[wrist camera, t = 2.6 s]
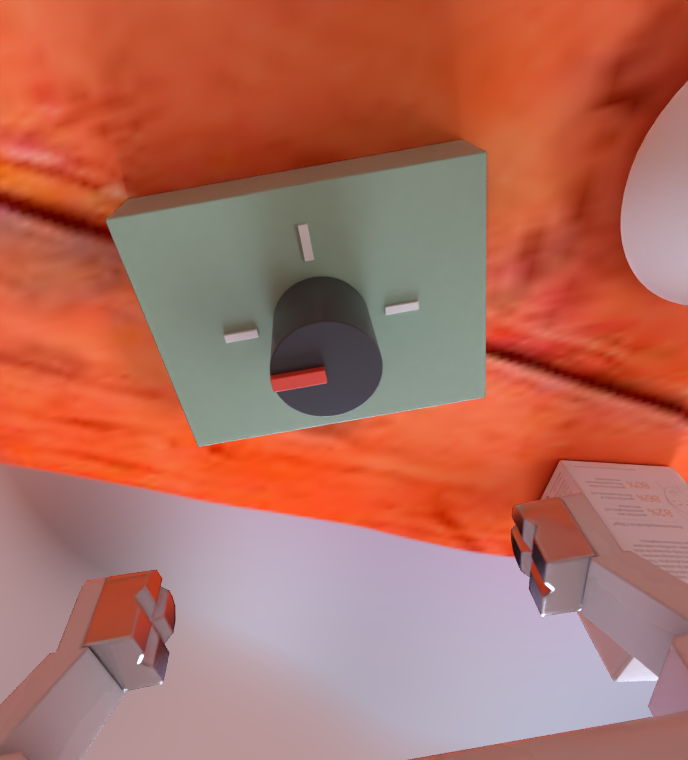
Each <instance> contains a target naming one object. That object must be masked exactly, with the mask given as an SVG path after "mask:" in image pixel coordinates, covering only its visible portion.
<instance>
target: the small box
mask: <svg viewBox="0 0 688 760" xmlns="http://www.w3.org/2000/svg"><path fill="white" fill-rule="evenodd" d="M577 493H582V494H583V495H585V496H586V498H587V499H588V501H589V502H590V504H591V505H592V506H593V508H594V509H595V511H596V512H597V514H598V515H599V517H600V518H601V520H602V521H603V523H604V524H605V525H606V527H607V528H608V530H609V531H610V533H611V534H612V536H613V537H614V539H615V540H616V542H617V543H618V544H619V546H620V547H621V549H622V550H623V552H624V551H632V552H634V553H635V554H637V555H639V556H640V557H642V558H644V559H646V560H647V561H649V562H651V563H653V564H654V565H656V566H658V567H659V568H661V569H663V570H665V571H666V572H668V573H670V574H672V575H673V576H675V577H677V578H678V579H680V580H682V581H684V582H685V583H687V584H688V484H687V482H686V481H685V480H684V479H683V478H682V477H681V476H680V475H679V474H678V473H677V472H676V471H675V469H674V468H672V467H666V466H648V465H633V464H617V463H602V462H584V461H568V460H560V461H559V463H558V465H557V467H556V469H555V471H554V473H553V475H552V477H551V479H550V481H549V483H548V485H547V487H546V489H545V491H544V493H543V495H542V497H541V499H540V500H542V499H547V498H552V497H560V496H566V495H571V494H577ZM577 613H578V615H579V617H580V619H581V621H582V623H583V625H584V627H585V629H586V631H587V633H588V634H589V636H590V638H591V640H592V642H593V644H594V646H595V648H596V650H597V651H598V653H599V655H600V657H601V659H602V661H603V663H604V665H605V667H606V669H607V670H608V672H609V674H610V676H611V678H612V679H613V681H616V682H618V681H658V677H657V676H656V675H655V674H654V673H652V672H651V671H650V670H649V669H648V668H646V667H645V666H644V665H643V664H642V663H640V662H639V661H638V660H637V659H636V658H634V657H633V656H632V655H631V654H630V653H628V652H627V651H626V650H625V649H624V648H622V647H621V646H620V645H619V644H618V643H616V642H615V641H614V640H613V639H612V638H610V637H609V636H608V635H607V634H606V633H604V632H603V631H602V630H601V629H600V628H598V627H597V626H596V625H595V624H594V623H592V622H591V621H590V620H589V619H588V618H587V617H585V616H584V615H583V614H582V613H581V611H577Z"/></svg>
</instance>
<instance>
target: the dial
mask: <svg viewBox="0 0 688 760" xmlns="http://www.w3.org/2000/svg"><path fill="white" fill-rule="evenodd" d="M382 372H383V361H382V356H381V352H380V349H379V346H378V342H377V339H376V335H375V332H374V328H373V325H372V321H371V318H370V315H369V311H368V308H367V305H366V303H365V301H364V299H363V297H362V296H361V294H360V293H359V292H358V291H357V290H356V289H355V288H354V287H352V286H351V285H350V284H348V283H346V282H344V281H342V280H339V279H336V278H332V277H312V278H308V279H305V280H302V281H300V282H298V283H296V284H294V285H293V286H291V287H290V288H289V289H288V290H287V291H285V292H284V294H283V295H282V296H281V298H280V299H279V301H278V303H277V305H276V307H275V311H274V316H273V329H272V343H271V356H270V381H271V384H272V388H273V391H274V392H276V393H277V394H278V395H279V397H280V398H281V399H282V400H283V401H284V402H285V403H286V404H287V405H289V406H290V407H292V408H293V409H295V410H297V411H299V412H301V413H304V414H307V415H312V416H318V417H331V416H338V415H342V414H345V413H348V412H350V411H353V410H355V409H356V408H358V407H360V406H361V405H363V404H364V403H365V402H366V401H367V400H368V399H369V398H370V397H371V396H372V395H373V394H374V392H375V391H376V389H377V387H378V385H379V383H380V381H381V377H382Z"/></svg>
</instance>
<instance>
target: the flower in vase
mask: <svg viewBox="0 0 688 760" xmlns="http://www.w3.org/2000/svg"><path fill="white" fill-rule="evenodd" d="M621 237H622V245H623V249H624V252H625V256H626V259H627V261H628V263H629V265H630V268H631V270H632V271H633V273H634V274H635V276H636V277H637V279H638V280H639V281H640V282H641V283H642V284H643V285H644V286H645V287H646V288H647V289H648V290H649V291H651V292H652V293H654V294H655V295H657V296H659V297H660V298H663V299H665V300H668V301H670V302H673V303H677V304H681V305H686V306H688V81H687V82H686V83H685V84H684V85H683V87H682V88H681V89H680V90H679V91H678V92H677V93H676V94H675V95H674V97H673V98H672V99H671V100H670V102H669V103H668V104H667V105H666V107H665V108H664V109H663V111H662V112H661V113H660V114H659V116H658V117H657V119H656V120H655V122H654V124H653V125H652V127H651V128H650V130H649V131H648V133H647V134H646V136H645V138H644V140H643V142H642V144H641V146H640V148H639V150H638V152H637V154H636V156H635V159H634V162H633V164H632V167H631V169H630V172H629V176H628V179H627V183H626V186H625V191H624V196H623V202H622V209H621Z"/></svg>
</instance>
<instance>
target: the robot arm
mask: <svg viewBox="0 0 688 760" xmlns="http://www.w3.org/2000/svg"><path fill="white" fill-rule="evenodd" d="M512 518H513V520H514V522H515V524H516V525H515V526H514V527H513V528H512V529H511V542H512V547H513V552H514V555H515V558H516V561H517V563H518V566H519V568H520V570H521V571H522V572H523V573H524V574H526V575H527V576H529V577H530V581H529V590H530V592H531V594H532V597H533V599H534V601H535V603H536V605H537V607H538V610H539V612H540V614H541V616H548V615H554V614H561V613H568V612H575V611H581V613H582V614H583V615H584V616H585V617H587V618H588V619H589V620H590V621H591V622H592V623H594V624H595V625H596V626H597V627H598V628H600V629H601V630H602V631H603V632H604V633H606V634H607V635H608V636H609V637H610V638H612V639H613V640H614V641H615V642H616V643H618V644H619V645H620V646H621V647H622V648H624V649H625V650H626V651H627V652H628V653H630V654H631V655H632V656H633V657H634V658H636V659H637V660H638V661H639V662H640V663H642V664H643V665H644V666H645V667H646V668H648V669H649V670H650V671H651V672H652V673H654V674H655V675H656V676H657V677H658V681H657V684H656V686H655V689H654V692H653V694H652V697H651V700H650V702H649V705H648V707H649V709H650V711H651V713H652V715H653V716H654V717H648V718H643V719H637V720H632V721H626V722H620V723H615V724H609V725H603V726H597V727H592V728H586V729H580V730H575V731H569V732H563V733H557V734H552V735H546V736H540V737H535V738H529V739H523V740H518V741H512V742H507V743H501V744H495V745H489V746H484V747H478V748H472V749H466V750H461V751H455V752H449V753H444V754H438V755H432V756H427V757H421V758H415V759H410V760H688V584H687V583H685V582H684V581H682V580H680V579H678V578H677V577H675V576H673V575H672V574H670V573H668V572H666V571H665V570H663V569H661V568H659V567H658V566H656V565H654V564H653V563H651V562H649V561H647V560H646V559H644V558H642V557H640V556H639V555H637V554H635V553H634V552H632V551H624V552H623V550H622V549H621V547H620V546H619V544H618V543H617V542H616V540H615V539H614V537H613V536H612V534H611V533H610V531H609V530H608V528H607V527H606V525H605V524H604V523H603V521H602V520H601V518H600V517H599V515H598V514H597V512H596V511H595V509H594V508H593V506H592V505H591V504H590V502H589V501H588V499H587V498H586V496H585V495H583V494H582V493H577V494H571V495H566V496H560V497H552V498H547V499H542V500H536V501H531V502H526V503H521V504H516V505H514V506H513V508H512ZM161 582H162V577H161V576H160V574H159V573H158V571H157V570H150V571H143V572H137V573H130V574H124V575H117V576H110V577H105V578H99V579H92V580H87V581H86V583H85V584H84V585H83V586H82V588H81V590H80V592H79V595H78V598H77V600H76V603H75V605H74V608H73V610H72V613H71V615H70V618H69V621H68V623H67V626H66V628H65V631H64V633H63V636H62V639H61V641H60V644H59V646H58V649H57V651H56V652H55V653H50V654H49V655H48V656H47V657H46V658H45V659H44V660H43V661H42V662H41V663H40V664H39V665H38V666H37V667H36V668H35V669H34V670H33V671H32V672H31V673H30V674H29V675H28V676H27V678H26V679H25V680H24V681H23V682H22V683H21V684H20V685H19V686H18V687H17V688H16V689H15V690H14V691H13V692H12V693H11V694H10V695H9V696H8V697H7V698H6V699H5V700H4V702H2V704H1V705H0V760H81V758H82V757H83V755H84V754H85V753H86V751H87V750H88V748H89V746H90V745H91V744H92V742H93V741H94V739H95V738H96V736H97V734H98V733H99V732H100V730H101V729H102V727H103V726H104V724H105V723H106V721H107V720H108V718H109V717H110V715H111V714H112V712H113V711H114V709H115V708H116V706H117V705H118V704H119V702H120V701H121V699H122V698H123V696H124V695H125V693H124V691H129V690H134V689H139V688H144V687H149V686H153V685H158V684H162V683H163V681H164V677H165V671H166V666H167V662H168V656H169V651H168V650H167V648H166V646H165V643H166V641H167V640H168V639H169V637H170V636H171V635H172V634H173V631H174V626H175V604H174V600H173V597H172V595H171V593H170V591H169V590H167V589H165V588H163V587H161Z"/></svg>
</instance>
